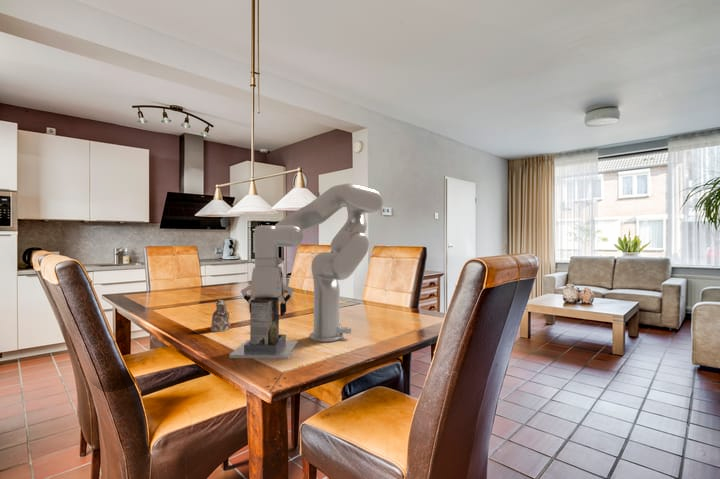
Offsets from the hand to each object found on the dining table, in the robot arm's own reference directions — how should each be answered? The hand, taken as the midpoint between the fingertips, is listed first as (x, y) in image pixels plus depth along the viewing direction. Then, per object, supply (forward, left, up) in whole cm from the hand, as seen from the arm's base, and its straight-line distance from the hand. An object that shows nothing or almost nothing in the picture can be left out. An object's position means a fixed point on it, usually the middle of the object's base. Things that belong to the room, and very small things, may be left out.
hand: (268, 315), depth 117 cm
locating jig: (+1, 0, -12) cm, 12 cm away
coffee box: (+1, +1, -11) cm, 11 cm away
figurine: (+27, -26, -12) cm, 39 cm away
